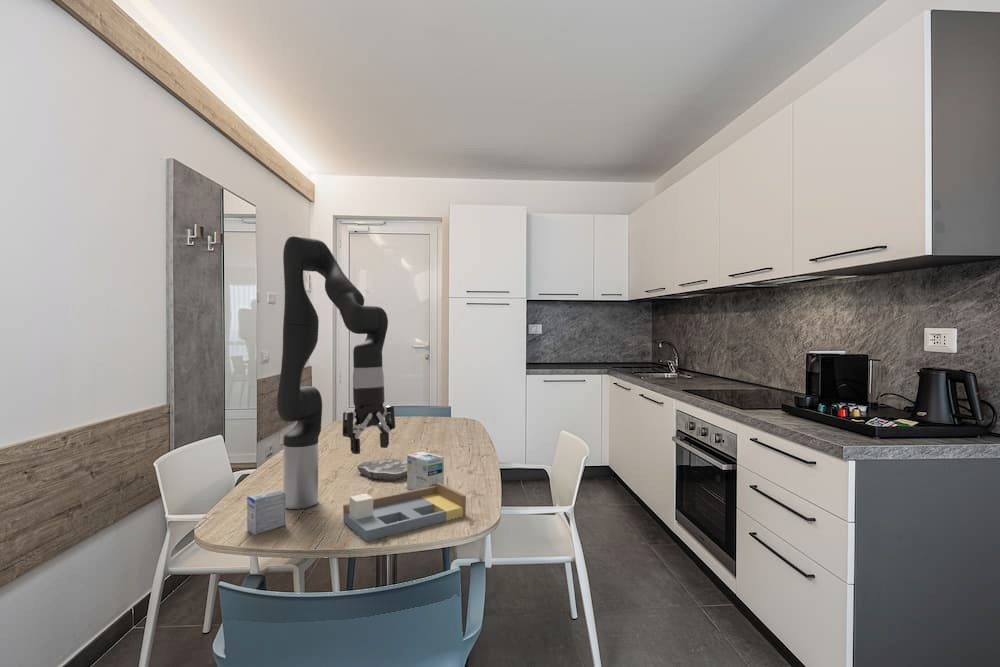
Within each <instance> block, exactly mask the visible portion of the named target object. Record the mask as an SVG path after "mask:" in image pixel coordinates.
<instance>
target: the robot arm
mask: <svg viewBox="0 0 1000 667" xmlns="http://www.w3.org/2000/svg"><path fill="white" fill-rule="evenodd" d="M284 243H285V244H284V246H283V251H282V252H283V256H282V257H283V258H282V259H283V278H284V279H283V280H284V283H283V284H284V310H283V325H282V354H281V367H280V368H281V370H280V376H279V382H278V390H277V398H276V410H277V413H278V416H279V418H280V420H282V421H284V422H288V423H289V422H291V423H292V422H296V424H295V425H294V427H292V429H290V430H289V431H287V432H286V433H285V434H284V435H283V474H282V476H283V482H282V483H283V484H282V485H283V487H282V488H283V490H282V491H283V492H285V493H286V509H291V510H300V509H301V508H302V509H306V508H310V507H314V506H315V505H317V504H318V502H319V437H320V434H321V431H322V416H323V400H322V399H323V398H322V395H321V393H320V391H319V389H318V388H316V387H315V386H312V385H307V386H301V381H302V375H303V371H304V368H305V367H306V365H307V362H308V361H309V359H310V358H311V356H312V355H313V353H314V351H315V349H316V347H317V344H318V341H319V323H320V321H319V316H318V313H317V311H316V309H315V307H314V305H313V303H312V301H311V299H310V298H309V296H308V293H307V291H306V288H305V284H304V283H305V282H304V272H316V273H318V274H319V275H321V276H322V277H323V279H325V281H324V290H325V293H326V295H327V297H328V299H329V300H330V301H331V302H332V303H333V304H334V305H335V307H336V308H337V309H338V310H339V312H340V313H339V314H340V315H341V318H342V320H343V323H344V326H345V327H346V329H347V330H348V331H350V332H351V333H353V334H356V335H366V338H365V340H364V342H363V343H360V344H359V343H358V344H356V345H355V346H354V347H353V350H352V353H353V354H352V355H353V356H352V357H353V373H352V388H353V389H352V395H353V396H352V397H353V405H354V411H344V412H343V413H342V436H343V437H345V438H348V439H349V440H350V452H352V454H353V455H360V454H361V440H360V439H361V438H360V436H361V434H362V432H364V430H366V428H369V427H372V426H374V427H377V429H378V430H379V431H380V432H379V444H380V445H379V446H380V448H382V449H386V448H388V447H389V444H390V435H389V434H390V431H392V430H394V429H395V428H396V420H395V407H394V405H393V406H392V405H385V406H384V404H385V377H384V376H385V375H384V369H383V350H384V349H383V348H384V344H385V339H386V335H387V331H388V326H389V318H388V314H387V313H386V311H385V309H384V308H383V307H381V306H373V305H365V298H364V296H363V294H362V292H361V291H360V290H359V289H358V288H357V287H356V286H355V285H354V284H353V283H352V281H351V280H350V279H349V278H348V277H347V276H346V275H345V273H344V271H343V270H342V269H341V267H340V265H339V264H338V261H337V260H336V258H335V256H334V255H333V253H332V252H331V250H330V249H329V247H328V245H327V244H326V243H325V242H324V241H322V240H320V239H317V238H311V237H304V236H300V235H290V236H289V237H288V238H287V239H286V240H285V242H284ZM383 416H384V417H383ZM354 420H355V421H354ZM313 505H314V506H313Z"/></svg>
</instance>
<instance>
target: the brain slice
mask: <svg viewBox="0 0 1000 667" xmlns="http://www.w3.org/2000/svg"><path fill="white" fill-rule="evenodd" d="M356 468H357V470H358V471H359V472H360V474H361V475H362V474H363V476H365V475H366V476H365V477H367V476H368V477H367V478H369V477H370V479H373V478H374V479H373V480H377V479H379V480H378V481H388V480H394V481H398V480H399V479H402V477H403V478H407V477H406V476H407V460H401V459H397V458H392V459H379V460H373V461H365V462H363V463H360V464H358V465H357V466H356ZM382 479H383V480H382ZM397 479H398V480H397Z"/></svg>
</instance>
